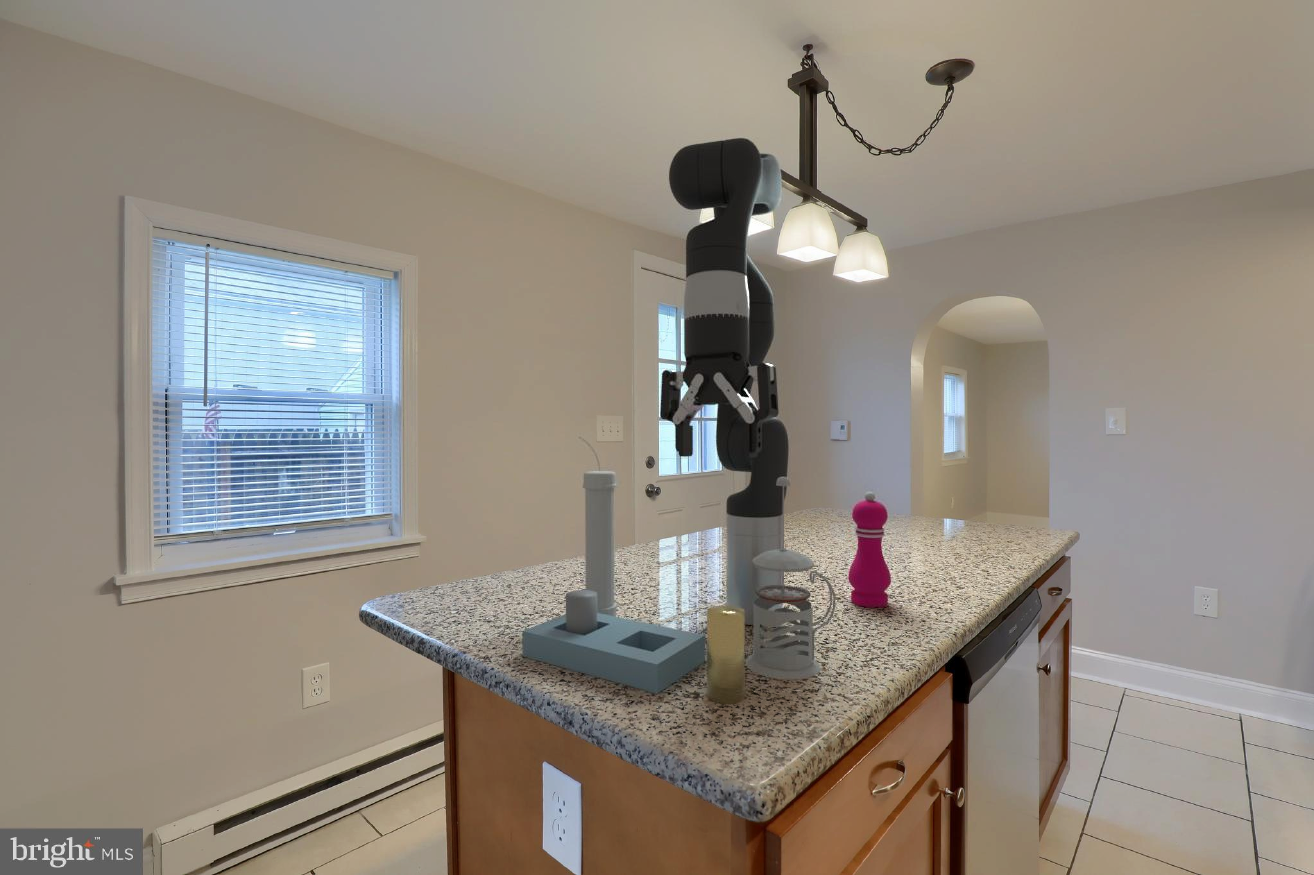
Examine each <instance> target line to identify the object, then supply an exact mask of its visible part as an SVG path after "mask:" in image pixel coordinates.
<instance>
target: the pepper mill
mask: <svg viewBox="0 0 1314 875" xmlns="http://www.w3.org/2000/svg"><path fill="white" fill-rule="evenodd" d="M875 499H876V495H875V493H874V492H872V491H867V492H866V493H865V494H864V500H860V501H859V502H857V503H856V504H855V505H854V507H853V509H852V514H851V516H852V520H853V521H854V523H855V524H856V526H855V527H854V529H855V530H854V531H855V532H854V535H855V536H857V550H856V552H855V556H854V558H853V561H852V562H851V565H850V568H849V570H848V579H847V580H848V582H849V585H850V586H852V587H853V590H851V592H850V602H851V603H852V602H853V603H852V604H854V605H856V604H857V605H856V606H858V607H859V606H860V607H863V606H865V608H872V607H879V608H884V607H883V606H885V607H887V606H888V605H889V595H888V593H887V592H885V591H886V590H887V589H888V588H889V587H890V586H891V582H892V578H891V573H890V569H889V567H888V565H887V562H886V560H885V558H884V554H883V550H882V549H883V548H882V547H883V546H882V542H883V537H885V528H884V527H883V526H884V525H885V524H886V522H887V521H888V510H887V508H886V506H885V505H884V504H882V503H881V502H879V501H877V500H875ZM887 604H888V605H887Z"/></svg>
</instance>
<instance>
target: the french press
mask: <svg viewBox="0 0 1314 875" xmlns="http://www.w3.org/2000/svg"><path fill="white" fill-rule="evenodd" d="M776 485H777V486H782V487H783V542H782V548H781V549H777V550H770V551H767V552H764V553H761V554H760V555H758V556H757V557H755V558H754V559H753V561H752V563H753V564H754V566H756V567H757V568H760V569H764V570H769V571H775V572H782V586H781V585H777V586H775V585H770V586H769V585H768V586H767V585H766V587H765V586H763V587H759V588H758V589H757V590H756V594H757V595H758V596H759V598H757V599H756V600H754V625H753V653H752V654H750V655H749V656H748V657H746V659H745V666H746V667H747V668H748V669H749V671H751V672H754V673H755V674H758V675H760V676H764V677H768V678H771V679H776V680H777V679H778V680H787V681H789V680H790V681H792V680H804V679H808V678H811V677H814V676H816V675H817V674H819V673H820V672H821V664H820V663H819V662H818V661H817V660H816V659H815V632H816V631H817V630H819V629H821V628H823V627H825V626H826V625H827V624H828V623H829V622H830V621H831V619H832V618H833V615H835V614H834V613H835V611H836V610H835V609H836V593H835V590H834V588H833V586H832V584H831V583H830V581H829V580H828V579H827V578H825V576H823V575H822V574H821V573H819V572H818V571H816V570H812V569H813V567H814V566H815V561H814V560H812V559H811V558H810V557H808V556H807V555H805V554H803V553H800V552H797V551H796V550H792V549H787V548H785V500H784V487H785V486H787V487H790V486H791V480H790V479H789V477H788V476H787V477H779V478H778V479H777V482H776ZM805 571H810V572H809V581H810V583H811V584H812V585H813V584H815V579H816V578H815V577H818V578H821V579H823V581H825V583H826V585H827V588H828V591H829V600H830V601H829V602H830V603H829V605H828V609H827V611H826V613H825V615H824V616H823V617H821V619H820V620H818V621H815V622H814V621H813V620H814V617H813V613H814V612H813V610H814V606H813V605H812V602H810V601H809V600H808V599H810V598H811V592H810V591H809V590H808V589H806V588H803V587H799V586H795V585H794V586H792V585H788V584H787V585H785V573H799V572H800V573H801V572H805ZM782 603H783V604H787V605H791V606H794V607H795V608H796V609H798V610H799V611H797V610H794V609H792V608H788V607H783V608H779V609H776V610H774V611H771V610H768V609H770V608H771V607H773V606H775V605H776V604H782ZM831 608H832V610H831ZM830 611H831V613H830ZM829 613H830V615H829ZM828 615H829V618H828ZM826 618H828V619H827V620H826V621H825V622H824V623H823V624H821V625H818V624H820V623H822V622H823V621H824V620H825V619H826ZM787 623H789V624H792V626H791V625H790V626H787V625H783V624H787ZM760 624H762V625H760ZM781 625H782V626H781ZM816 625H818V626H816ZM815 626H816V627H815ZM770 628H773V629H771V630H769V631H766V630H767V629H770ZM788 633H791V634H794V635H791V636H789V635H787V634H788ZM767 638H770V640H767V641H765V639H767Z"/></svg>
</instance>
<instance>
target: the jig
mask: <svg viewBox="0 0 1314 875" xmlns="http://www.w3.org/2000/svg"><path fill="white" fill-rule="evenodd" d="M522 657H524V658H527V657H528V659H532V660H534V659H535V660H534V661H538V662H542V663H546V664H549V665H552V666H556V667H561V668H563V669H568V670H570V671H575V672H577V673H582V674H585V675H589V676H592V677H595V678H599V679H603V680H606V681H610V682H613V683H618V684H621V685H625V686H628V687H631V688H635V689H638V690H642V691H646V692H650V693H654V694H657V695H658V694H659V693H661V692H662V691H664V690H665V689H667V688H668V687H669V686H671V685H672V684H674V683H675V682H677V681H678V680H680V679H681V678H683V677H684V676H685V675H687V674H689V673H690V672H691V671H693V670H695V668H697V667H698V666H700V665H702V664H703V663H704V662H706V634H701V633H695V632H692V631H686V630H683V629H676V628H673V627H667V626H662V625H659V624H658V625H657V624H653V623H648V622H644V621H640V620H639V621H638V620H634V619H629V618H624V617H619V616H616V617H615V616H610V615H605V614H600V613H597V593H596V592H594V591H590V590H586V589H576V590H572V591H569V592H566V593H565V614H563V615H559V616H558V617H555V618H552V619H549V620H548V621H545V622H542V623H538V624H537V625H535V626H532V627H529V628H527V629H524V630H522Z"/></svg>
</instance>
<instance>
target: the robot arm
mask: <svg viewBox="0 0 1314 875" xmlns="http://www.w3.org/2000/svg"><path fill="white" fill-rule="evenodd" d="M668 171H669V172H668V181H669V182H668V183H669V188H670V191H671V193H672V196H673V197H674V199H675V200H676V202H677V203H678V204H679V205H680V206H681V207H682V208H684V209H686V210H690V211H691V210H692V211H694V210H695V211H696V210H705V209H712V208H713V219H710V220H708V221H705V222H702V223H700V224H698V225H696V226H694V227H692V228H691V229H690V230H689V231H688V233H687V235H686V239H685V278H686V279H685V288H684V296H683V332H684V333H683V334H684V336H683V344H684V345H683V347H684V348H683V349H684V350H683V354H684V358H685V367H684V370H683V371H678V370H677V371H676V370H671V369H670V370H669V369H665V370H663V371H662V373H661V386H660V388H661V389H660V390H661V392H660V409H659V410H660V413H659V414H660V419H662V420H664V421H665V420H666V421H668V422H671V423H673V425H674V428H675V430H674V431H675V432H674V433H675V434H674V437H675V440H674V442H675V444H674V446H675V450H676V452H678V456H679V457H681V458H682V457H683V458H684V457H685V458H686V457H692V456H693V454H694V426H693V425H691V423H692V421H693V420H694V419H695V417H696V415H697V414H698V412H699V411H701V410H702V409H703V408H704V406H706V405H707V406H717V412H716V428H715V429H716V430H715V446H716V454H717V457H718V460H719V463H720V464H721V466H722V467H723V468H725V469H727V470H728V471H731V472H743V473H750V480H749V484H748V485H747V486H746V487H745V488H744V489H743V490H741V491H738V492H735V493H732V494H730V495H729V496H728V497H727V498H726V508H725V509H726V510H725V511H726V516H725V517H726V521H725V522H726V527H725V528H726V529H725V530H726V545H725V546H726V549H725V550H726V566H725V567H726V571H725V572H726V575H725V576H726V577H725V578H726V579H725V581H726V583H725V584H726V587H725V588H726V589H725V590H726V594H725V596H726V598H725V599H726V600H725V602H726V604H725V605H728V606H736V607H739V608H742V609H744V611H745V625H748V626H750V625H751V626H754V600H756V599H757V598H759V596H758V595H757V594H756V590H757V589H758V588H759V587H763V586H765V587H766V585H767V586H768V585H769V586H770V585H775V586H777V585H781V586H782V572H775V571H769V570H764V569H760V568H757V567H756V566H754V564H753V563H752V561H753V559H754V558H755V557H757V556H758V555H760V554H761V553H764V552H767V551H770V550H777V549H781V548H782V542H783V487H782V486H777V485H776V482H777V479H778V478H779V477H787V478H788V468H789V467H788V466H789V449H790V448H789V435H788V431H787V429H786V426H785V424H784V423H783V422H782V420H781V419H779V418H778V417H777V416H778V415H779V398H778V397H779V396H778V383H777V382H778V380H777V378H778V377H777V368H776V366H775V365H774V364H770V363H766V362H764V361H765V358H766V357H767V354H768V352H769V350H770V348H771V346H772V343H773V340H774V336H775V305H774V304H775V303H774V302H775V301H774V300H775V299H774V295H773V291H772V288H771V287H770V285H769V283H768V282H767V280H766V279H765V277H764V276H763V274H762V273H761V271H760V270H759V269H758V268H757V266H756V264H755V263H754V262H753V261H752V259H751V257H750V256H749V255H748V253H747V250H748V249H747V246H748V245H747V244H748V236H749V227H750V223H751V218H752V217H755V216H762V215H767V214H770V213H772V212H774V211H776V210H777V208H778V207H779V205H781V204H780V203H781V200H782V194H783V184H782V183H783V182H782V172H781V167H780V163H779V160H778V159H777V158H776V156H774V155H773V154H770V153H763V152H762V153H760V151H759V149H758V147H757V145H755V143H754V142H753V141H752V140H750V139H748V138H745V137H736V138H730V139H724V140H717V141H709V142H702V143H694V144H690V145H689V144H688V145H686V146H683V147H682V148H680V149H679V150H678V151H677V152H676V153H675V154H674V156H673V158H672V160H671V163H670V166H669V170H668ZM684 383H685V386H687V388H688V389H687V391H685V393H684V395H683V397H682V398H681V389H682V387H684ZM754 383H755V384H756V385H757V392H758V406H757V405H756V403H755V400H754V398H753V397H752V396H751V393H752V387H753V384H754ZM758 407H759V408H758ZM787 487H788V486H785V487H784V501H785V499H786V496H787V490H788V489H787ZM783 605H784V603H782V604H776V605H775V606H773V607H771V608H770V609H768V610H771V611H774V610H776V609H779V608H784V607H783ZM760 626H763V625H762V624H760Z"/></svg>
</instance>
